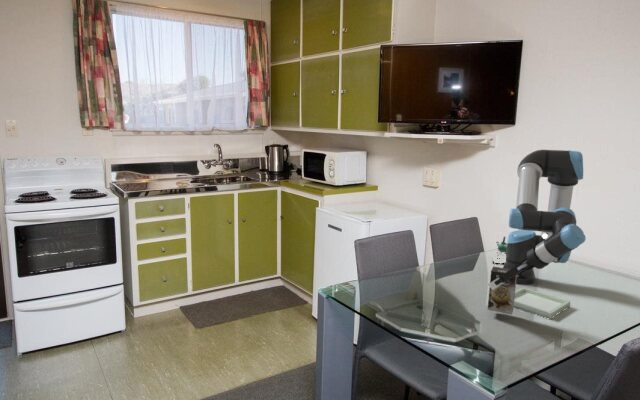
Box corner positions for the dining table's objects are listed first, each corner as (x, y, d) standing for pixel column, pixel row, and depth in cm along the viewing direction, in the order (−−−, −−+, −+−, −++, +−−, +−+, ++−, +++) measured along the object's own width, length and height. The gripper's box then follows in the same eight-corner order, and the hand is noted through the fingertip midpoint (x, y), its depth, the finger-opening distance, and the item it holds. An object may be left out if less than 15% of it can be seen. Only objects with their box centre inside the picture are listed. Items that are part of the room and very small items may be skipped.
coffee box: (487, 310, 179) (490, 270, 175) (489, 304, 184) (492, 265, 181) (512, 315, 175) (516, 274, 171) (514, 308, 180) (517, 269, 177)
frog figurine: (520, 260, 248) (521, 234, 244) (501, 270, 238) (502, 243, 234) (504, 255, 255) (505, 230, 251) (484, 265, 245) (485, 239, 241)
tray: (501, 302, 192) (501, 297, 192) (522, 292, 203) (522, 287, 203) (550, 319, 177) (550, 313, 177) (569, 307, 188) (570, 301, 188)
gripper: (534, 270, 156) (488, 299, 171) (562, 257, 169) (517, 285, 184) (521, 252, 159) (476, 282, 174) (549, 240, 172) (505, 269, 187)
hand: (497, 284), depth 179 cm, fingers closed on coffee box, 9 cm apart
